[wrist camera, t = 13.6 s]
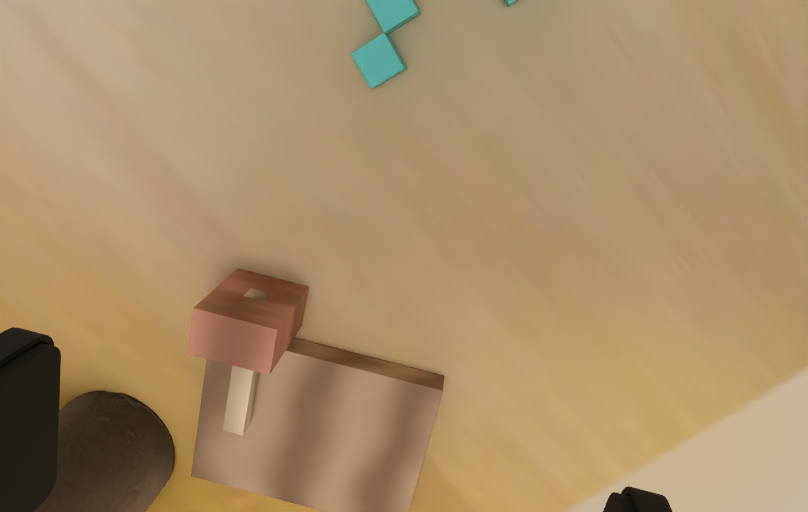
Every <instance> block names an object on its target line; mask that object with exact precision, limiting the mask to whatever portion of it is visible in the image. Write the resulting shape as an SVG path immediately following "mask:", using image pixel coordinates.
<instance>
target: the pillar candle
mask: <svg viewBox="0 0 808 512" xmlns="http://www.w3.org/2000/svg"><path fill="white" fill-rule="evenodd" d="M173 461H174V451H173V445H172V440H171V437H170V435H169V434H168V431H167V429H166V428H165V426H164V425H163V423H162V421H161V420H160V419H158V417H157V416H156V415H155V414H154V413H153V412H152V411H150V410H149V409H148V408H147V407H146V406H144V405H142V404H140V403H138V402H137V401H135V400H134V399H132V398H130V397H128V396H126V395H124V394H119V393H112V392H103V391H99V392H91V393H87V394H84V395H81V396H79V397H77V398H75V399H74V400H72V401H71V402H69V403H68V404H67V405H66V406H65V407H63V408H62V409H61V410H60V411H59V423H58V453H57V477H56V482H55V485H54V487H53V489H52V491H51V493H50V495H49V496H48V497H47V499H46V500H45V501H44V502H43V503H42V504H41V505H40V506H39V507H38V508H37V509H36V510H35V511H34V512H145V511H146V510H147V508H148V507H149V506H150V505H151V504H152V502H153V501H154V500H155V498H156V497H157V495H158V494H159V492H160V491H161V490H162V488H163V487H164V486H165V484H166V483H167V481H168V480H169V479H170V476H171V472H172V468H173Z"/></svg>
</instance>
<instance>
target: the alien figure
mask: <svg viewBox="0 0 808 512" xmlns="http://www.w3.org/2000/svg"><path fill="white" fill-rule="evenodd" d="M366 1H367V3H368V5H369V7H370V8H371V10H372V12H373V14H374V16H375V17H376V19H377V21H378V23H379V25H380V26H381V28H382V30H383V32H384V33H383V34H381V35H380V36H378V37H377V38H375V39H373V40H372V41H370V42H369V43H367V44H366V45H364V46H362V47H361V48H359V49H358V50H356V51H355V52H353V53H351V55H352V57H353V58H354V60H355V62H356V64H357V65H358V67H359V69H360V71H361V72H362V74H363V76H364V78H365V79H366V81H367V83H368V85H369V86H370V88H371V89H372V88H376V87H377V86H379V85H381V84H382V83H384V82H386V81H387V80H389V79H390V78H392V77H394V76H395V75H397V74H399V73H400V72H402V71H403V70H405V69H407V67H406V65H405V64H404V62H403V60H402V58H401V56H400V55H399V53H398V51H397V49H396V47H395V46H394V44H393V42H392V40H391V38H390V37H389V35H388V34H389V33H391V32H392V31H394V30H396V29H397V28H399V27H400V26H402V25H403V24H405V23H407V22H408V21H410V20H411V19H413V18H415V17H416V16H418V15H419V14H421V13H420V11H419V9H418V7H417V5H416V4H415V2H414V0H366ZM504 1H505V3H506V4H507V6H509V5H511V4H513V3H514V2H516V1H518V0H504Z"/></svg>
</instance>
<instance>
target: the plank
mask: <svg viewBox="0 0 808 512" xmlns="http://www.w3.org/2000/svg"><path fill="white" fill-rule="evenodd" d="M232 366H233V365H229V364H225V363H221V362H218V361H214V360H210V359H207V362H206V369H205V377H204V384H203V392H202V399H201V407H200V414H199V422H198V429H197V436H196V444H195V451H194V459H193V466H192V474H191V476H193V477H197V478H201V479H204V480H208V481H212V482H216V483H219V484H223V485H227V486H231V487H234V488H238V489H242V490H246V491H250V492H253V493H257V494H261V495H265V496H268V497H272V498H276V499H280V500H283V501H287V502H291V503H295V504H299V505H302V506H306V507H310V508H314V509H317V510H321V511H325V512H409V509H410V506H411V502H412V498H413V495H414V491H415V488H416V484H417V481H418V477H419V473H420V470H421V466H422V463H423V459H424V456H425V452H426V448H427V445H428V441H429V438H430V434H431V431H432V427H433V424H434V420H435V416H436V413H437V409H438V406H439V402H440V399H441V395H442V391H443V382H444V376H442V375H438V374H434V373H430V372H426V371H422V370H418V369H414V368H410V367H406V366H403V365H399V364H395V363H391V362H387V361H383V360H379V359H375V358H371V357H367V356H363V355H360V354H356V353H352V352H348V351H344V350H340V349H336V348H332V347H328V346H324V345H320V344H317V343H313V342H309V341H305V340H301V339H297V338H293V340H292V341H291V343H290V344H289V346H288V348H287V349H286V351H285V352H284V354H283V355H282V357H281V358H280V360H279V361H278V363H277V364H276V366H275V367H274V369H273V371H272V372H271V374H270V375H267V374H264V373H260V372H259V373H258V379H257V385H256V391H255V397H254V403H253V409H252V415H251V421H250V425H249V426H248V428H247V429H246V431H245V433H244V434H243V435H239V434H235V433H231V432H228V431H224V430H223V425H224V418H225V412H226V405H227V399H228V392H229V386H230V379H231V372H232Z"/></svg>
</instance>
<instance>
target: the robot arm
mask: <svg viewBox="0 0 808 512" xmlns="http://www.w3.org/2000/svg"><path fill="white" fill-rule="evenodd" d="M60 363H61V354H60V350H59V349H58V348H57V347H55V346H54V342H53V340H52V338H51V337H49V336H48V335H44V334H40V333H36V332H32V331H29V330H25V329H21V328H10V329H8V330H6V331H4V332H2V333H0V512H34V511H35V510H36V509H37V508H38V507H39V506H40V505H41V504H42V503H43V502H44V501H45V500H46V499H47V497H48V496H49V495H50V493H51V491H52V489H53V487H54V485H55V482H56V477H57V453H58V423H59V393H60ZM603 512H672V510H671V507H670V505H669V503H668V501H667V499H666V498H665V497H664V496H663V495H660V494H656V493H652V492H648V491H644V490H640V489H637V488H632V487H625V489H624V490H623V491H622V493H621V494H619V493H612V494H611V495H610V496H609V498H608V501H607V503H606V506H605V508H604V511H603Z"/></svg>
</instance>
